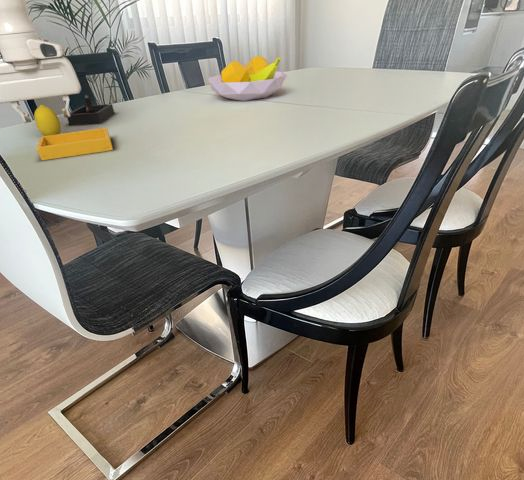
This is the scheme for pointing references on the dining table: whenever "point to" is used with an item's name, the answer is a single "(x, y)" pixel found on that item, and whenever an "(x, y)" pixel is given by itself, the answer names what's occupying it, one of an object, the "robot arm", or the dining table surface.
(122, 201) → the dining table surface
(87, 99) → the lighter
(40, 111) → the lemon
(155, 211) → the dining table surface
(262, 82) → the fruit bowl
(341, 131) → the dining table surface
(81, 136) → the yellow tray
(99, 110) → the dark tray
